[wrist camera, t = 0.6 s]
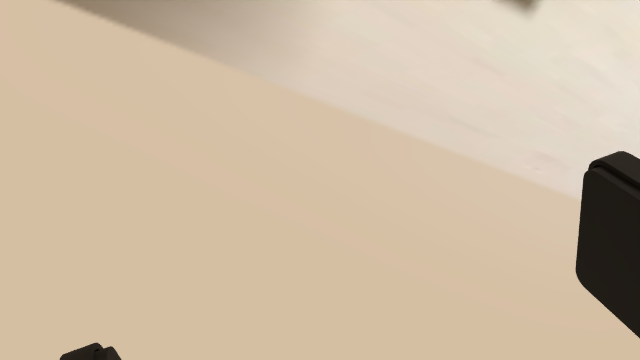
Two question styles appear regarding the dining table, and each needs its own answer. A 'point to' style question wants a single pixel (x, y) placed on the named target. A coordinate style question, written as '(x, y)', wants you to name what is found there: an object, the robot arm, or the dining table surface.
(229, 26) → the dining table surface
